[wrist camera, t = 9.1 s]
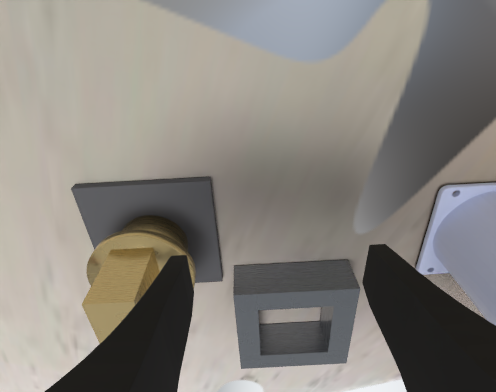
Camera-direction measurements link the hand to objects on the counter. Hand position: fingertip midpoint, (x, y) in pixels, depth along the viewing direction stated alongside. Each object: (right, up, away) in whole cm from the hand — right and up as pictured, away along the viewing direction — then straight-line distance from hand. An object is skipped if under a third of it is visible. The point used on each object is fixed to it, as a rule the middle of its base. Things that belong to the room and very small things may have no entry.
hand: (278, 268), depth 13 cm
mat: (-8, 0, +11) cm, 13 cm away
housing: (+2, -6, +15) cm, 16 cm away
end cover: (-8, 0, +11) cm, 13 cm away
